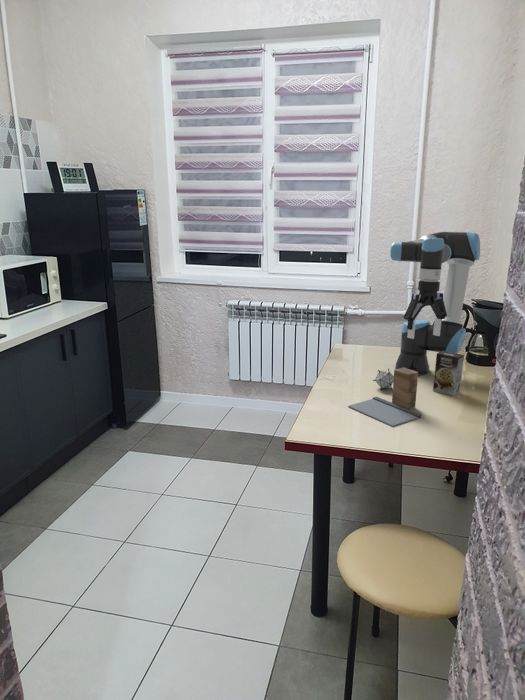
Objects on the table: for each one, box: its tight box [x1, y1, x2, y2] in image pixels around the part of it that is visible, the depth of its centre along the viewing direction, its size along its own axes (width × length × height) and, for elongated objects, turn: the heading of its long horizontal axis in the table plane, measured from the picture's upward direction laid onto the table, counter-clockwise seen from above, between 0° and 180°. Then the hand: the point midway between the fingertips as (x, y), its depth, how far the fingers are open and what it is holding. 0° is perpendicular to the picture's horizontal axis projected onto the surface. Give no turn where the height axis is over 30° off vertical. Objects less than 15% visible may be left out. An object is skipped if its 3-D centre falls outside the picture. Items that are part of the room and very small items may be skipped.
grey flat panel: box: [348, 396, 423, 428], centre depth 189 cm, size 15×22×1 cm
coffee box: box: [432, 351, 465, 397], centre depth 208 cm, size 9×6×16 cm
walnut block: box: [391, 367, 419, 410], centre depth 193 cm, size 5×7×14 cm
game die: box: [372, 368, 394, 390], centre depth 213 cm, size 9×8×10 cm
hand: (423, 336), depth 195 cm, fingers open, 13 cm apart
